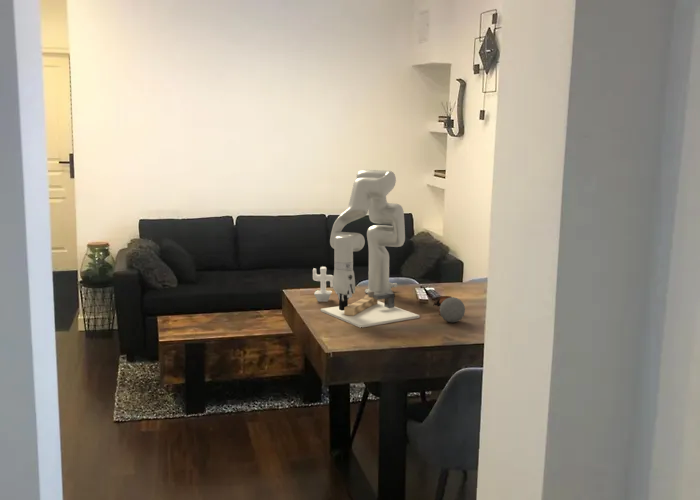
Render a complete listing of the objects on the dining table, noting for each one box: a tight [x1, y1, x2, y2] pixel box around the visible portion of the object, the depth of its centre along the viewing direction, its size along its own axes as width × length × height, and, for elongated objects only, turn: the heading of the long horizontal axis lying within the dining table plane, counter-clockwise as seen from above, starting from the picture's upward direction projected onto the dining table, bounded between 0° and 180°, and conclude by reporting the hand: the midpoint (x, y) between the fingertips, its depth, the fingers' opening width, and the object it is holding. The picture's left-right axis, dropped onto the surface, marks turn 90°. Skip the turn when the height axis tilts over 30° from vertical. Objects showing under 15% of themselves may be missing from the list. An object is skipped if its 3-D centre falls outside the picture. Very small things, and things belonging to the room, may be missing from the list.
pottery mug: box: [433, 295, 452, 316], centre depth 316 cm, size 12×10×8 cm
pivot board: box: [320, 300, 420, 329], centre depth 313 cm, size 29×30×1 cm
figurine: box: [312, 266, 334, 303], centre depth 335 cm, size 7×9×15 cm
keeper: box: [373, 291, 395, 308], centre depth 320 cm, size 9×3×6 cm, turn 123°
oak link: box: [344, 291, 379, 316], centre depth 317 cm, size 25×6×5 cm, turn 155°
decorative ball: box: [439, 296, 466, 323], centre depth 301 cm, size 10×10×10 cm
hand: (343, 309), depth 310 cm, fingers closed
